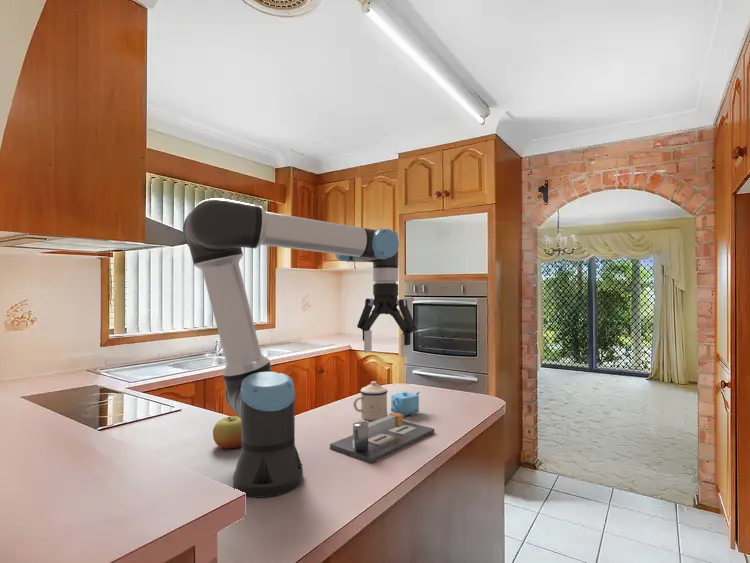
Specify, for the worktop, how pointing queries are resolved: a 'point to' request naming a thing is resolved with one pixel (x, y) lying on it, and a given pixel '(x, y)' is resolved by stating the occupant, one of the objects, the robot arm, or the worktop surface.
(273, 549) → the worktop surface
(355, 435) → the grey bar
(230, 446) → the apple
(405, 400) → the teapot
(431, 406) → the worktop surface
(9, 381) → the worktop surface
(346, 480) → the worktop surface
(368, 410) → the teacup with lid
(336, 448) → the plate
